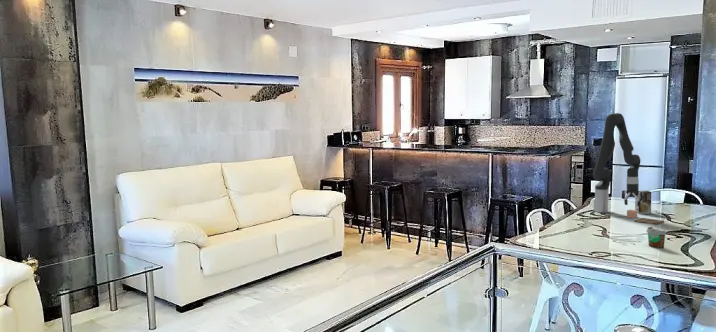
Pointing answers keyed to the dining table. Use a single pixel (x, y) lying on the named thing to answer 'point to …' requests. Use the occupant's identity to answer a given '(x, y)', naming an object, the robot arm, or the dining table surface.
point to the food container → (656, 237)
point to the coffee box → (644, 203)
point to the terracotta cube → (631, 213)
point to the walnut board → (649, 221)
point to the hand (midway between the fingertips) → (632, 205)
